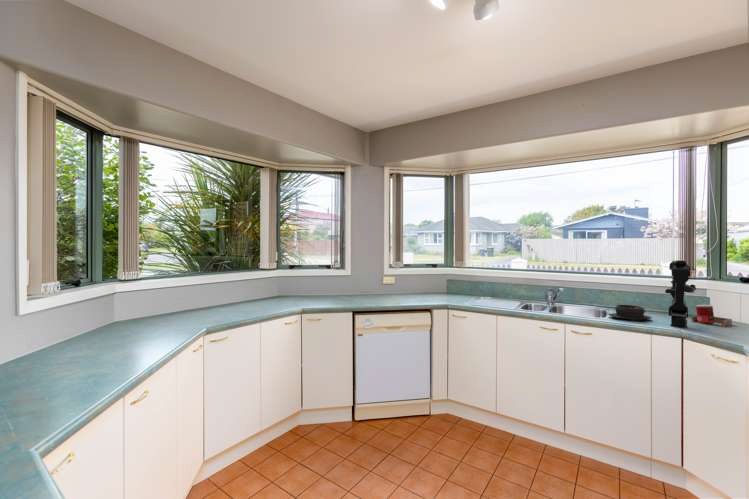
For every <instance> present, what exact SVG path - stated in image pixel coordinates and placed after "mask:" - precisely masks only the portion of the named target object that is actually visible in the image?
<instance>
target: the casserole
mask: <svg viewBox="0 0 749 499" xmlns="http://www.w3.org/2000/svg"><path fill="white" fill-rule="evenodd" d="M614 310H615V312H613V313H612V312H611V313H608V316H609V317H613V318H618V319H622V320H626V321H641V320H648V319H652V318H653V317H652V316H649V315H646V314H645V313H646V310H645V308H644V307H643V306H639V305H633V304H617V305H616V306H615V307H614Z"/></svg>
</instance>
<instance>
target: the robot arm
mask: <svg viewBox="0 0 749 499" xmlns="http://www.w3.org/2000/svg"><path fill="white" fill-rule="evenodd" d="M669 270H670V272H671V276H672V278H671V280H670V283H671V287H670V288H666V289H665V290H664V293H665V294H669V295H671V297H672V300H671V304H670V305H669V307H668V316H670V318H671V319H670V320H671V321H670V322H671V323H670V324H669V326H671V327H676V328H681V329H682V328H687V327H688V319H687V318H689V307H688V306H687V302H686V300H685V295H686V294H689V293H690V294H691V293H695V291H697V287H696V285H695V284H690V285H689V284H687V282H688V281H689V279H690V277H691V275H692V274H691V266H690V265H688V264H687V261H686V260H681V259H680V260H672V261H671V262H670V263H669Z"/></svg>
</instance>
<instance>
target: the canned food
mask: <svg viewBox="0 0 749 499" xmlns="http://www.w3.org/2000/svg"><path fill="white" fill-rule="evenodd" d="M695 311H696V315H697V319H698V321H697V322H698V323H700V324H714V323H716V322H715V321H714V317H715V315H714V307H713V305H712V304H697V305H695Z"/></svg>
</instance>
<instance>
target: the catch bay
mask: <svg viewBox="0 0 749 499" xmlns="http://www.w3.org/2000/svg"><path fill="white" fill-rule="evenodd" d="M714 321H715V322H714V323H717V324H721V327H722V328H724V327H729V326H732V325H733V320H732V318H727V317H720V316H718V317H717V316H714ZM691 322H693V323H694V322H698V319H697V314H696V315H692V316H691Z"/></svg>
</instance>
